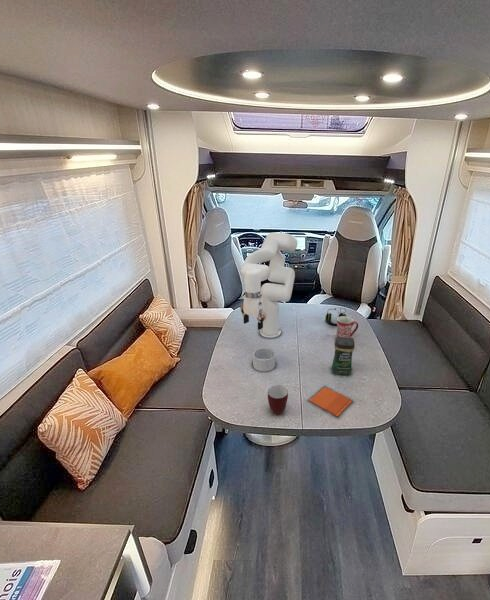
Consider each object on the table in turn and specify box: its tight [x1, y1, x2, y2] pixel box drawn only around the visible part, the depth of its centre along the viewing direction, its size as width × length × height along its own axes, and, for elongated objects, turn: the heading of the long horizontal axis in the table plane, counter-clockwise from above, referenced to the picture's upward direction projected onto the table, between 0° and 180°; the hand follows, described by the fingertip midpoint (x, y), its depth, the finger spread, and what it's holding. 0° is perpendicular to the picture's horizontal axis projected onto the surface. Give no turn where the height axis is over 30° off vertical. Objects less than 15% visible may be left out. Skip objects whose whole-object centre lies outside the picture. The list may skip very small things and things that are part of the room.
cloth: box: [309, 386, 353, 418], centre depth 135 cm, size 14×12×1 cm
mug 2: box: [336, 315, 359, 338], centre depth 180 cm, size 13×9×14 cm
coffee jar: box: [331, 336, 356, 376], centre depth 151 cm, size 10×8×19 cm
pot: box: [252, 347, 276, 372], centre depth 157 cm, size 11×11×6 cm
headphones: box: [324, 307, 348, 328], centre depth 202 cm, size 16×10×20 cm
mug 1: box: [267, 384, 289, 416], centre depth 127 cm, size 11×8×10 cm
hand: (253, 325), depth 156 cm, fingers open, 9 cm apart
